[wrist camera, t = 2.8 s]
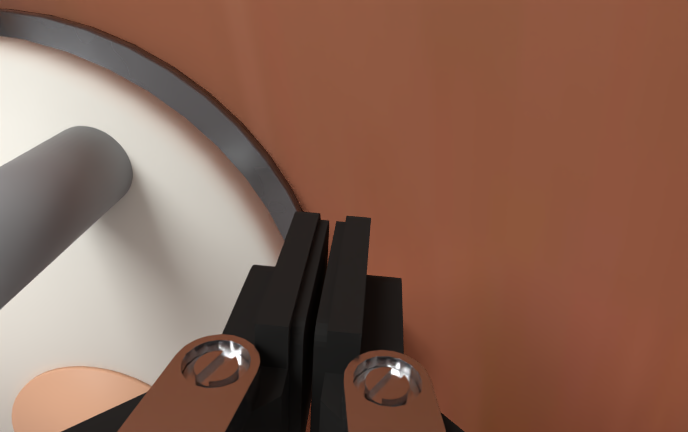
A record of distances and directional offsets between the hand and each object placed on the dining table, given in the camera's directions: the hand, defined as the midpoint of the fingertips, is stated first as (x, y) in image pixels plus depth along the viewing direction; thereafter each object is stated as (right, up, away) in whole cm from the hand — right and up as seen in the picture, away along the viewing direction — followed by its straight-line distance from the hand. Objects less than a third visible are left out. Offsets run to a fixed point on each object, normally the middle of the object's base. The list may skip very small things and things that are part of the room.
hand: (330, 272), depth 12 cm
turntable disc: (-11, -2, +9) cm, 14 cm away
